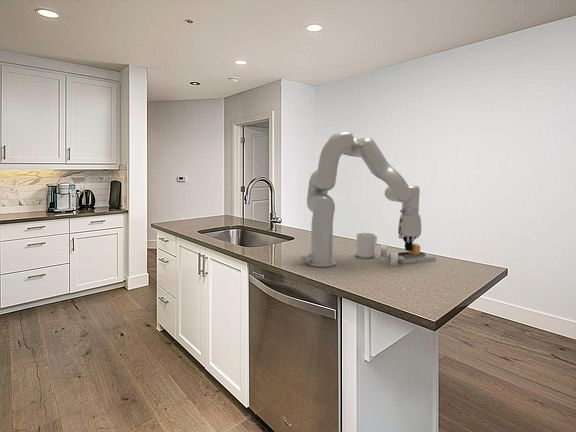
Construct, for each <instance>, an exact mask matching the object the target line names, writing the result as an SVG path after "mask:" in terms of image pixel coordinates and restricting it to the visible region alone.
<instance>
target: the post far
mask: <svg viewBox="0 0 576 432" xmlns="http://www.w3.org/2000/svg"><path fill="white" fill-rule="evenodd" d="M380 257H382V258H386V257H387V258H388V244H387V243H380Z"/></svg>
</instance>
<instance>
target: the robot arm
mask: <svg viewBox="0 0 576 432" xmlns="http://www.w3.org/2000/svg"><path fill="white" fill-rule="evenodd" d="M342 155H345V156H349V157H352V158H353V157H355V158H361V159H362V161H363V162H364V163H365V165H366V167H367V168H368V169H369V171H370V173H371V174H372V175H373V176H375V177H376V178H378V179H379V180H381V181H383V182H384V183H385V184H386V185H387V187H386V188H385V189H384V197H385V198H386V199H387V200H389V201H391V202H397V203H401V209H400V210H399V213H401V214H400V216H399V221H398V228H397V231H398V232H397V234H398V238H399V239H401V240H403V242H404V250H405V251H406V252H409V251H412V243H415V240H416V239H418V238H419V237H420V236H421V235H422V219H421V215H420V214H419V212H420V211H419V210H420V190H421V188H420V186H418V185H408V182H406V180H405V178H404V177H403V176H402V175H401V174H400V173H399V172H398V170H396V168H394V166H393V165H391V164H390V163H389V162H388V161H387V159H386V158H385V156H384V154H383V152H382V151H381V149H380V148H379V146H378V145H377V143H376V141H375V140H374V139H373V138H371V137H362V138H356V137H354V135H353V134H352V133H351V132H349V131H340V132H338V133H335V134H332V135H331V136H330V137H329V139H328V140H327V142H326V143H325V144H324V146H323V147H322V149H321V152H320V155H319V160H318V166H317V170H315V171H313V172H312V174H311V175H310V178H309V181H308V189H307V197H306V207H307V208H308V210H309V211H310V212H312V217H311V228H310V229H311V233H310V234H311V239H310V240H311V241H310V242H311V244H310V247H311V248H310V252H309V253H308V254H307V255H300V260H301V261H306V262H307V264H308V265H309V266H311V267H319V268H328V267H333V266H335V265H336V264H337V263H336V260H335V259H333V246H334V245H333V241H334V240H333V239H334V238H333V237H334V236H333V235H334V216H335V211H336V209H335V208H336V205H335V200H334V199H333V198H332V196H331V195H329V194H328V191H331V190H333V189H334V187H335V186H336V183H337V175H338V168H339V167H338V166H339V161H340V158H341V156H342Z"/></svg>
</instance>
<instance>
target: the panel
mask: <svg viewBox="0 0 576 432" xmlns="http://www.w3.org/2000/svg"><path fill="white" fill-rule="evenodd" d="M387 258H388V259H390V260H391V253H387ZM436 261H437V257H436V256H434V255H430V254H428V253H426V252H424V251H423V252H422V251H420V254H414V255H412V254H409V251H403V252H402V251H401V252H398V263H400V264H403V265H404V264H416V263H428V262H429V263H430V262H436Z"/></svg>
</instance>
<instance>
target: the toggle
mask: <svg viewBox="0 0 576 432" xmlns="http://www.w3.org/2000/svg"><path fill="white" fill-rule="evenodd" d="M408 252H409V254H412V255H414V254H420V252H421V245H420V244H419V243H415V242H412V251H408Z"/></svg>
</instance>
